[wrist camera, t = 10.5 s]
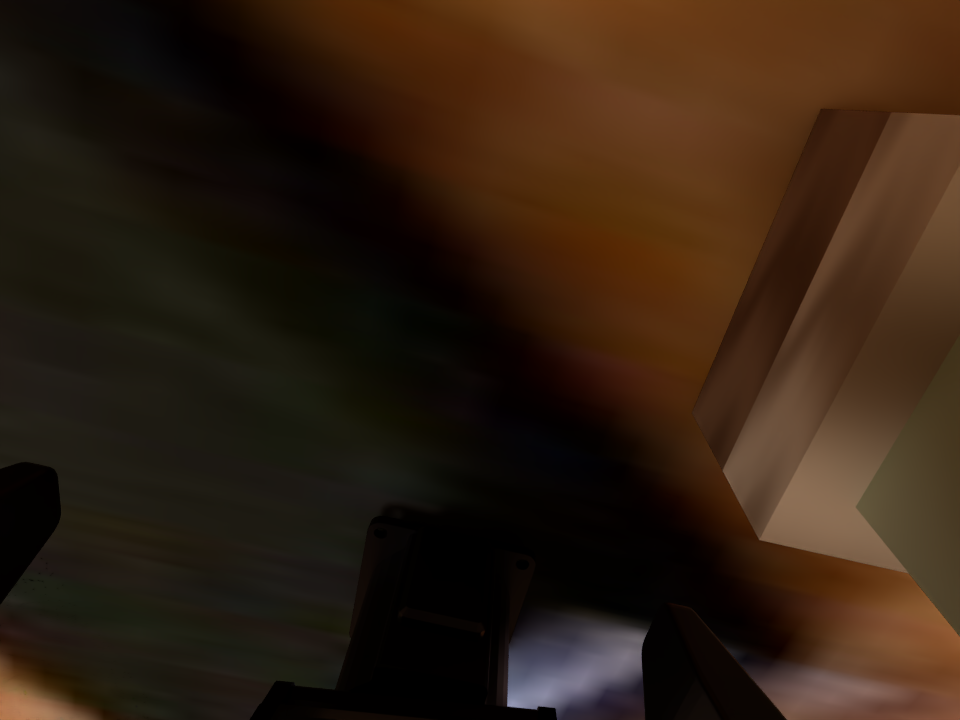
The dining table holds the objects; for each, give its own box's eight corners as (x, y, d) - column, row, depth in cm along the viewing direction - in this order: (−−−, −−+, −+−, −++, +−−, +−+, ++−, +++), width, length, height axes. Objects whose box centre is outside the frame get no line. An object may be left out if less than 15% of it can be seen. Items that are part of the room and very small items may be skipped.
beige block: (910, 463, 21) (1063, 608, 15) (691, 413, 21) (758, 540, 15) (1091, 175, 17) (1400, 218, 11) (820, 109, 17) (985, 116, 11)
